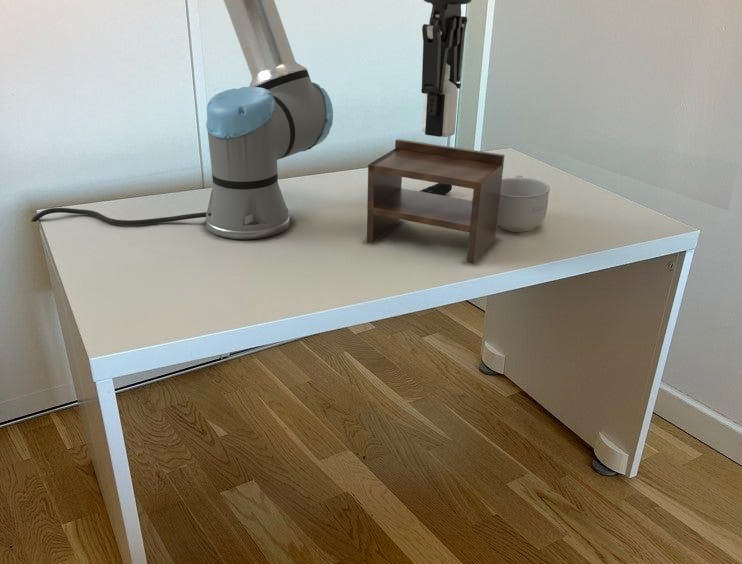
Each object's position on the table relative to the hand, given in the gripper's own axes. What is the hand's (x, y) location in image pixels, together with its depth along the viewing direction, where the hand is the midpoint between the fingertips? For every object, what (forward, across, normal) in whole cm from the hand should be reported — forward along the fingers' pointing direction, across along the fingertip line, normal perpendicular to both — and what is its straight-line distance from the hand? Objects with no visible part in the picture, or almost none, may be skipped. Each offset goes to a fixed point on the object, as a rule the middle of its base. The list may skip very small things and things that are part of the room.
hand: (438, 131), depth 125 cm
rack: (+19, 0, 0) cm, 19 cm away
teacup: (+20, +16, -11) cm, 28 cm away
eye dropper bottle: (+1, 0, 0) cm, 1 cm away
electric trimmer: (+20, +19, +9) cm, 29 cm away
